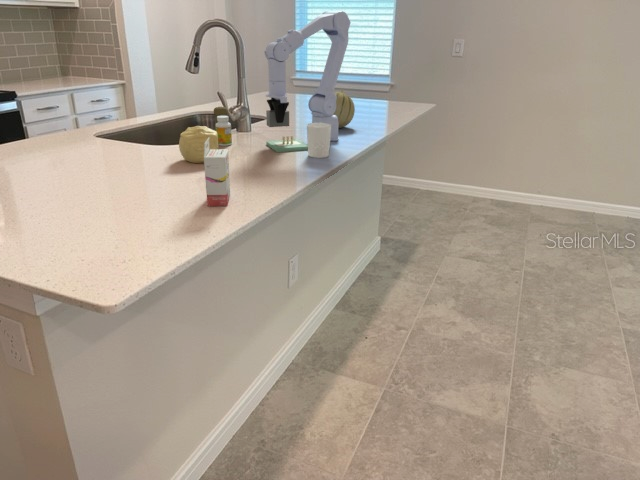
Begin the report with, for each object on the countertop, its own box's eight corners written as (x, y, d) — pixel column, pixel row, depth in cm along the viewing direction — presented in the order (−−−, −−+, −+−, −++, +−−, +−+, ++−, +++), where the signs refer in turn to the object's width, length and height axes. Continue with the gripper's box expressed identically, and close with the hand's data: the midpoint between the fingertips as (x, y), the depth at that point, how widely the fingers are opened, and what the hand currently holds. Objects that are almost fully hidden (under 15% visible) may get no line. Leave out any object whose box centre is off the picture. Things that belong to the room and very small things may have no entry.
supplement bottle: (213, 144, 175) (211, 116, 171) (225, 142, 179) (224, 114, 175) (222, 146, 172) (221, 118, 168) (235, 144, 175) (233, 116, 172)
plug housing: (285, 124, 175) (285, 109, 173) (289, 126, 172) (289, 111, 170) (266, 125, 173) (266, 110, 171) (269, 127, 170) (269, 112, 168)
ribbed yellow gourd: (313, 129, 204) (313, 91, 198) (326, 123, 216) (327, 87, 210) (347, 132, 199) (348, 93, 193) (358, 126, 211) (360, 89, 205)
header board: (298, 142, 180) (298, 132, 179) (310, 149, 170) (310, 138, 169) (266, 144, 176) (266, 134, 175) (276, 152, 166) (276, 141, 164)
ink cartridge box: (228, 206, 116) (224, 144, 110) (206, 206, 115) (202, 144, 110) (231, 195, 124) (228, 136, 118) (211, 195, 123) (206, 136, 117)
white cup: (333, 154, 165) (334, 123, 161) (326, 159, 158) (326, 128, 154) (311, 151, 167) (311, 122, 163) (303, 157, 160) (303, 126, 156)
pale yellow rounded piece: (185, 167, 147) (182, 130, 143) (176, 158, 157) (173, 123, 152) (223, 163, 152) (221, 127, 147) (212, 154, 161) (209, 121, 157)
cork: (226, 138, 184) (225, 108, 179) (211, 137, 185) (209, 107, 180) (232, 135, 189) (231, 106, 185) (217, 134, 190) (215, 105, 186)
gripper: (260, 78, 171) (261, 118, 177) (272, 83, 159) (272, 125, 164) (279, 78, 174) (280, 117, 179) (292, 82, 161) (293, 124, 167)
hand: (278, 121), depth 172 cm, fingers closed on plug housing, 4 cm apart
